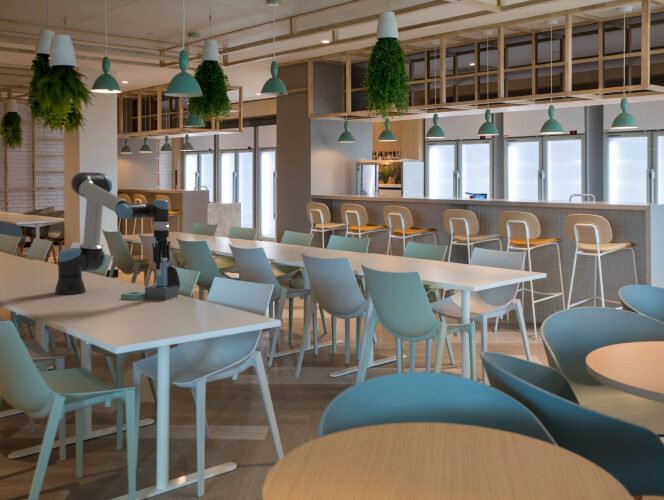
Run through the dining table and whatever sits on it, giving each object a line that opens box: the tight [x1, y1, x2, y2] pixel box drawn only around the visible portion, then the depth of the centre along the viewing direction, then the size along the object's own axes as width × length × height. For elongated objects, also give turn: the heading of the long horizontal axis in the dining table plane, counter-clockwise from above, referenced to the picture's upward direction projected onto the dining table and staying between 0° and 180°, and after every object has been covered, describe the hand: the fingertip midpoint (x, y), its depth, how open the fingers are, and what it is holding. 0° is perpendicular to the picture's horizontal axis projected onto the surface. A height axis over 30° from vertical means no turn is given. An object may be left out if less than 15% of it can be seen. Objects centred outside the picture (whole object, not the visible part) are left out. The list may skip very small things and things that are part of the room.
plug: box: [155, 257, 168, 287], centre depth 356 cm, size 4×4×14 cm
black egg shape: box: [167, 265, 181, 292], centre depth 372 cm, size 10×10×15 cm
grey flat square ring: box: [120, 291, 145, 301], centre depth 355 cm, size 10×10×2 cm
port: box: [144, 284, 179, 301], centre depth 357 cm, size 12×12×6 cm
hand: (161, 274), depth 356 cm, fingers closed on plug, 4 cm apart
